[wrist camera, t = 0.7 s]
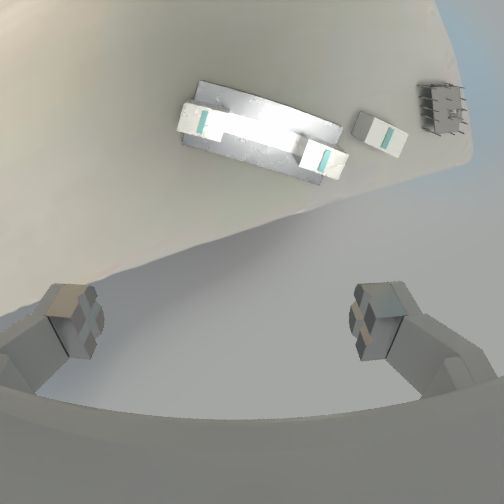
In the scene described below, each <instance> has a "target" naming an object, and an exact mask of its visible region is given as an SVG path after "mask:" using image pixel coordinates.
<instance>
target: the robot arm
mask: <svg viewBox="0 0 504 504" xmlns="http://www.w3.org/2000/svg"><path fill="white" fill-rule="evenodd" d="M354 296H355V299H356V301H355V302H354V303H353V304H352V305H351V308H350V312H349V325H350V330H351V333H352V335H353V336H355V337H356V338H357V342H356V348H357V351H358V354H359V357H360V360H361V361H369V360H380V359H386V361H387V362H388V363H389V364H390V365H391V366H392V367H393V368H394V369H396V370H397V372H399V373H400V374H401V375H402V376H403V377H404V378H405V379H406V380H407V381H408V382H409V383H410V384H411V385H412V386H413V387H414V388H415V389H416V390H417V391H418V392H419V393H420V394H421V395H422V396H421V398H420V399H419V400H416V401H412V402H407V403H402V404H397V405H392V406H386V407H380V408H374V409H368V410H362V411H354V412H347V413H340V414H331V415H322V416H311V417H298V418H284V419H258V420H214V419H190V418H173V417H161V416H151V415H142V414H133V413H125V412H118V411H111V410H105V409H98V408H93V407H87V406H82V405H77V404H72V403H67V402H62V401H58V400H53V399H49V398H45V397H41V396H37V395H36V394H35V392H36V391H37V390H38V389H39V388H40V387H41V386H42V385H43V384H44V383H45V382H46V381H47V380H48V379H49V378H50V377H51V376H52V375H53V374H54V373H55V372H56V371H57V370H58V369H59V368H60V367H61V366H62V365H63V364H64V363H65V362H66V361H67V360H69V358H78V359H89V360H91V358H92V355H93V353H94V350H95V348H96V345H97V343H96V341H95V338H97V337H98V336H99V335H101V333H102V331H103V328H104V313H103V310H102V307H101V306H100V305H99V304H98V303H97V302H96V301H95V300H96V298H97V293H96V290H95V288H94V287H93V286H91V285H77V284H58V283H55V284H52V285H51V286H50V287H49V289H48V290H47V292H46V293H45V295H44V296H43V298H42V299H41V301H40V302H39V304H38V305H37V307H36V308H35V310H34V312H33V313H32V315H30V314H28V315H26V316H25V317H23V318H22V319H20V320H19V321H17V322H16V323H14V324H13V325H11V326H10V327H8V328H7V329H5V330H4V331H2V332H1V333H0V504H504V376H501V377H497V375H496V373H495V372H494V370H493V368H492V366H491V364H490V363H489V361H488V359H487V357H486V356H485V354H484V352H483V350H482V349H480V348H479V347H477V346H476V345H474V344H473V343H471V342H470V341H468V340H467V339H465V338H464V337H462V336H461V335H459V334H457V333H456V332H454V331H453V330H451V329H450V328H448V327H447V326H445V325H444V324H442V323H440V322H439V321H437V320H436V319H434V318H433V317H431V316H429V315H428V314H423V313H422V312H421V310H420V308H419V307H418V305H417V303H416V302H415V300H414V298H413V297H412V295H411V293H410V292H409V290H408V288H407V287H406V285H405V283H404V282H402V281H393V282H387V283H367V284H357V286H356V288H355V291H354Z"/></svg>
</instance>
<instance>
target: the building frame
mask: <svg viewBox="0 0 504 504" xmlns="http://www.w3.org/2000/svg"><path fill="white" fill-rule="evenodd" d="M445 84H448V83H445ZM417 86H421V87H424V88H426V87H427V86H425V85H417ZM433 86H435V87H427V88H430V89H431V97H432V99H430V98H427V97H425V96H418V97H422V99H430V100H432V107H433V109H430V108H429V107H423V106H420V107H423V109H427V110H428V109H429V110H432V111H433V118H434V119H433V118H430V117H429V116H427V115H424V117H425V118H430V119H433V120H434V132H432V131H430V130H429V129H426V128H422V129H425V131H428V132H432V133H434V134H436V135H438V136H441V135H439V134H442V133H450V134H453V133H452V132H460V131H459V123H464V124H467V123H465V122H462V120H464V119H462V110H465V109H462V108H461V99H462V98H461V96H460V88H463V87H458V86H455V87H453V85H452V84H450V83H449V87H443V86H440V85H433ZM445 86H448V85H445ZM462 100H465V101H466V99H462ZM451 110H457V113H448V112H451ZM465 111H467V110H465ZM452 112H454V111H452ZM421 116H423V115H421ZM449 117H450V118H449ZM467 125H468V124H467ZM460 133H462V134H464V133H463V132H460ZM453 135H455V134H453Z"/></svg>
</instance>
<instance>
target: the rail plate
mask: <svg viewBox="0 0 504 504" xmlns="http://www.w3.org/2000/svg"><path fill="white" fill-rule="evenodd" d="M342 130H343V127H341V126H339V125H336V124H334V123H332V122H329V121H327V120H324V119H321V118H319V117H316V116H314V115H311V114H308V113H306V112H303V111H300V110H297V109H295V108H292V107H289V106H286V105H283V104H280V103H277V102H274V101H271V100H268V99H265V98H262V97H259V96H255V95H252V94H249V93H245V92H242V91H239V90H235V89H231V88H228V87H224V86H220V85H217V84H213V83H209V82H205V81H199V85H198V88H197V91H196V94H195V98H194V100H192V99H190V100H188V101H186V102H184V105H183V109H182V112H181V116H180V120H179V123H178V127H177V131H179V132H183V133H184V137H183V141H182V145H186V146H190V147H193V148H197V149H201V150H205V151H209V152H212V153H216V154H220V155H223V156H227V157H230V158H234V159H237V160H241V161H244V162H247V163H251V164H254V165H257V166H261V167H264V168H267V169H270V170H274V171H277V172H280V173H283V174H286V175H289V176H292V177H295V178H298V179H301V180H304V181H307V182H310V183H313V184H316V185H320V183H321V180H322V178H323V176H324V175H325V176H328V177H330V178H333V179H336V180H338V179H339V177H340V174H341V172H342V170H343V167H344V165H345V163H346V160H347V158H348V156H349V155H348V154H347V153H346V152H345V151H344V150H342V149H341V148H340V147H339V146H336V145H337V142H338V140H339V137H340V135H341V132H342Z"/></svg>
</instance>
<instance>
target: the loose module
mask: <svg viewBox="0 0 504 504" xmlns="http://www.w3.org/2000/svg"><path fill="white" fill-rule="evenodd" d="M351 134H352V135H354V136H355V137H357V138H358V139H360V140H361V141H363V142H364V143H366V144H369V145H371V146H373V147H375V148H378V149H380V150H382V151H384V152H386V153H388V154H390V155H392V156H395V157H397V158H398V157H399V155H400V153H401V150H402V148H403V146H404V144H405V141H406V139H407V137H408V134H407V133H405V132H403V131H401V130H399V129H397V128H396V127H394V126H392V125H390V124H388V123H386V122H384V121H382V120H380V119H378V118H375V117H373V116H371V115H368V114H366V113H363V112H361V111H360V113H359V116H358V118H357V121H356V123H355V126H354V128H353V131H352V133H351Z"/></svg>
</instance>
